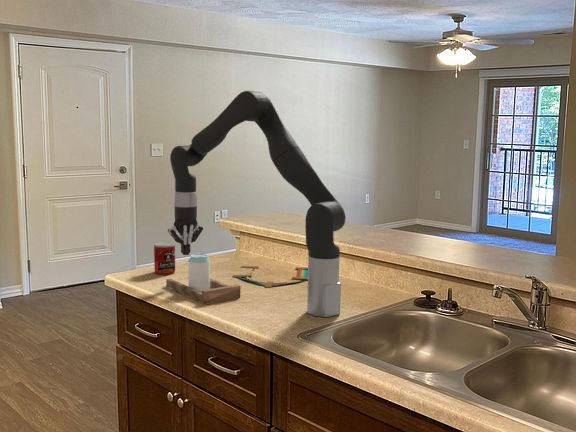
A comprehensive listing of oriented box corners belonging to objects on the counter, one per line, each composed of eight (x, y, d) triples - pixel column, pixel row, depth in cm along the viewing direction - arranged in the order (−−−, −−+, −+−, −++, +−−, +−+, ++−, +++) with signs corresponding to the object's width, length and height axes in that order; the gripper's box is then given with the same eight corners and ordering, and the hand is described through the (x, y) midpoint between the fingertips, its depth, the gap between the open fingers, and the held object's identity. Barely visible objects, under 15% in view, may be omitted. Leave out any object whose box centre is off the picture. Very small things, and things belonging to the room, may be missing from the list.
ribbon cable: (308, 290, 210) (314, 269, 239) (308, 287, 210) (314, 266, 239) (224, 288, 213) (240, 267, 242) (224, 285, 213) (240, 264, 242)
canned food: (158, 276, 225) (158, 246, 223) (151, 271, 232) (151, 242, 230) (178, 273, 229) (178, 244, 227) (171, 269, 235) (170, 241, 234)
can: (214, 289, 207) (214, 255, 206) (200, 294, 202) (200, 258, 200) (198, 286, 211) (197, 252, 209) (184, 291, 205) (183, 255, 203)
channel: (240, 297, 199) (240, 285, 198) (205, 304, 191) (205, 291, 190) (199, 280, 219) (199, 269, 218) (166, 286, 211) (166, 274, 210)
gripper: (173, 207, 202) (173, 259, 205) (208, 204, 210) (208, 254, 213) (162, 204, 208) (163, 254, 211) (197, 202, 216) (197, 250, 219)
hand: (185, 254), depth 212 cm, fingers closed
